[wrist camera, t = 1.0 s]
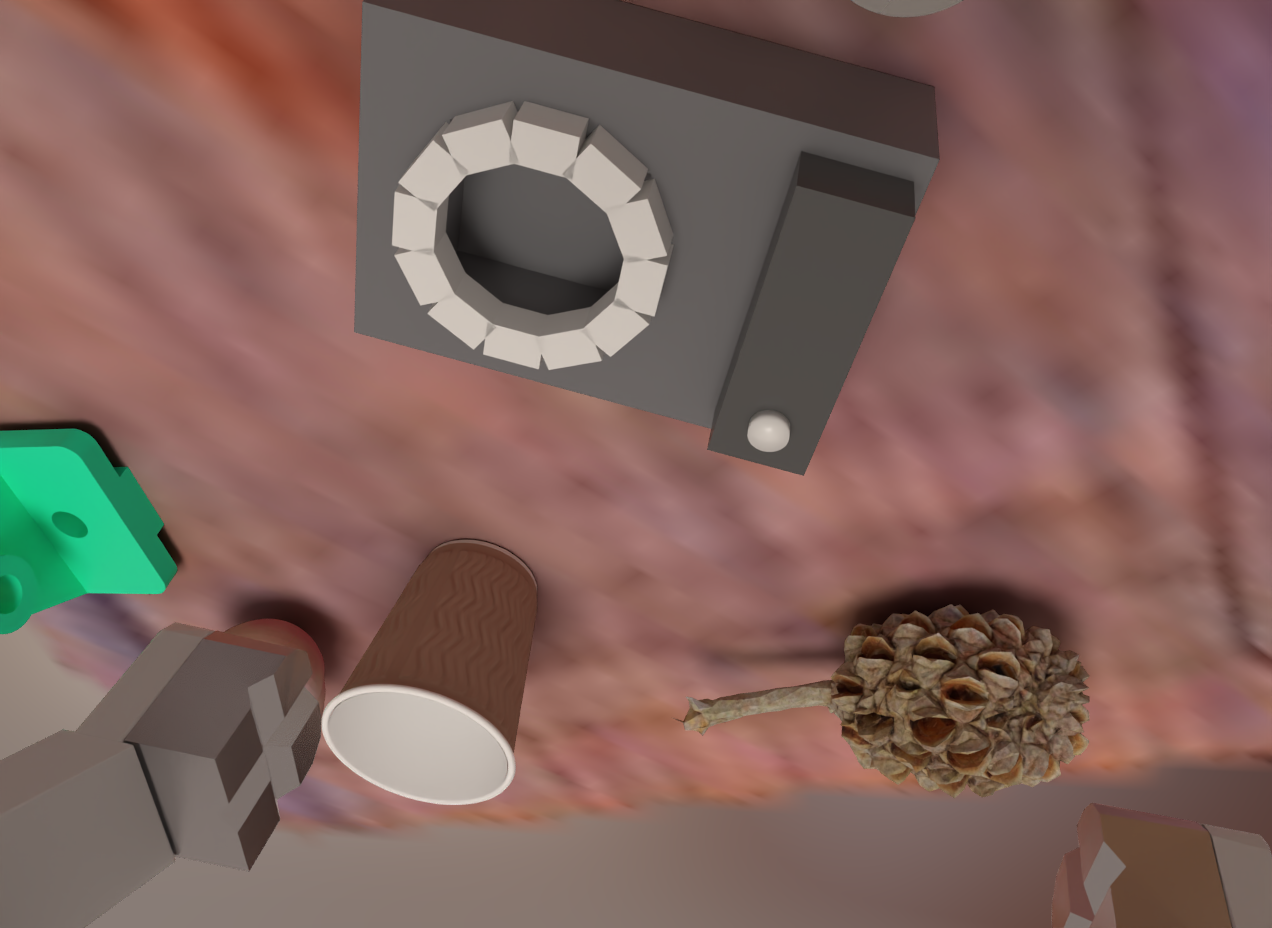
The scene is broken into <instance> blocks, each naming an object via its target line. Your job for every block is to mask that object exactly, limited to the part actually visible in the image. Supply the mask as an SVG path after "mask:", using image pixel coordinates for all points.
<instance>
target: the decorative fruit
mask: <svg viewBox="0 0 1272 928" xmlns="http://www.w3.org/2000/svg"><path fill="white" fill-rule="evenodd" d="M224 633H229V634H233V635H238V636H242V637H247V638H251V639H256V640H260V641H264V642H269V643H273V644H278V645H282V646H287V647H291V648H296V649H299V650H303V651H306V652H307V654H308V658H309V661H310V665H311V669H312V673H313V674H312V675H311V677H310V678H309V680H308V682H307V683H306V685H305V686H304V687H305V688H306V689H307V690H308V691H309V692H310V693H311V694H312V695H313V696H314V697H315V699H316V700H317V701H318V702H319V707H320V712H321V717H322V715H323V709H324V701H325V682H324V676H325V666H324V660H323V657H322V654H321V652H320V650H319V648H318V646H317V644H316V643H315V641H314V640H313V639H312V638H311V637H310V636H309V635H308V634H307V633H306V632H305V631H304V630H302V629H301V628H299V627H298V626H296V625H294V624H292V623H289V622H286V621H283V620H278V619H258V620H253V621H248V622H245V623H242V624H239V625H237V626H234V627H232V628H230V629H228V630H227V631H225V632H224Z"/></svg>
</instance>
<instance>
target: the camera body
mask: <svg viewBox="0 0 1272 928" xmlns="http://www.w3.org/2000/svg"><path fill="white" fill-rule="evenodd" d="M939 160H940V159H939V145H938V132H937V118H936V105H935V91H934V87H932V86H929V85H925V84H922V83H918V82H914V81H911V80H907V79H903V78H900V77H896V76H892V75H889V74H885V73H881V72H878V71H874V70H870V69H867V68H863V67H859V66H856V65H852V64H849V63H845V62H841V61H838V60H834V59H830V58H827V57H823V56H819V55H816V54H812V53H808V52H805V51H801V50H797V49H794V48H790V47H787V46H783V45H779V44H776V43H772V42H768V41H765V40H761V39H757V38H754V37H750V36H746V35H743V34H739V33H735V32H732V31H728V30H724V29H721V28H717V27H714V26H710V25H706V24H703V23H699V22H695V21H692V20H688V19H684V18H681V17H677V16H673V15H670V14H666V13H662V12H659V11H655V10H652V9H648V8H644V7H641V6H637V5H633V4H630V3H626V2H622V1H619V0H364V1H363V2H362V42H361V82H360V122H359V162H358V203H357V243H356V283H355V323H354V332H356V333H359V334H363V335H367V336H370V337H374V338H378V339H381V340H385V341H389V342H393V343H396V344H400V345H404V346H407V347H411V348H415V349H418V350H422V351H426V352H429V353H433V354H437V355H441V356H444V357H448V358H452V359H455V360H459V361H463V362H466V363H470V364H474V365H478V366H481V367H485V368H489V369H492V370H496V371H500V372H503V373H507V374H511V375H514V376H518V377H522V378H526V379H529V380H533V381H537V382H540V383H544V384H548V385H551V386H555V387H559V388H563V389H566V390H570V391H574V392H577V393H581V394H585V395H588V396H592V397H596V398H599V399H603V400H607V401H611V402H614V403H618V404H622V405H625V406H629V407H633V408H636V409H640V410H644V411H648V412H651V413H655V414H659V415H662V416H666V417H670V418H673V419H677V420H681V421H684V422H688V423H692V424H696V425H699V426H703V427H707V428H710V429H711V433H710V438H709V443H708V448H707V450H711V451H714V452H718V453H722V454H725V455H729V456H733V457H736V458H740V459H744V460H748V461H751V462H755V463H759V464H762V465H766V466H770V467H773V468H777V469H781V470H784V471H788V472H792V473H796V474H799V475H803V476H804V474H805V472H806V469H807V467H808V465H809V462H810V460H811V458H812V455H813V453H814V451H815V448H816V446H817V444H818V442H819V439H820V437H821V435H822V432H823V430H824V428H825V425H826V423H827V421H828V418H829V416H830V414H831V412H832V409H833V407H834V405H835V402H836V400H837V398H838V395H839V393H840V391H841V388H842V386H843V384H844V382H845V379H846V377H847V375H848V372H849V370H850V368H851V365H852V363H853V361H854V358H855V356H856V354H857V352H858V349H859V347H860V345H861V342H862V340H863V338H864V335H865V333H866V331H867V328H868V326H869V324H870V322H871V319H872V317H873V315H874V312H875V310H876V308H877V305H878V303H879V301H880V298H881V296H882V294H883V292H884V289H885V287H886V285H887V282H888V280H889V278H890V275H891V273H892V271H893V268H894V266H895V264H896V262H897V259H898V257H899V255H900V252H901V250H902V248H903V245H904V243H905V241H906V238H907V236H908V234H909V232H910V229H911V227H912V225H913V222H914V220H915V215H916V213H917V210H918V208H919V206H920V203H921V201H922V199H923V197H924V194H925V192H926V190H927V187H928V185H929V183H930V180H931V178H932V176H933V173H934V171H935V169H936V166H937V164H938V162H939Z"/></svg>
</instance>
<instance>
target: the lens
mask: <svg viewBox="0 0 1272 928" xmlns="http://www.w3.org/2000/svg"><path fill="white" fill-rule="evenodd" d="M851 1H853V2H854V3H855V4H857V5H859V6H861V7H863V8H865V9H867V10H869V11H872V12H875V13H878V14H882V15H887V16H892V17H918V16H923V15H929V14H933V13H936V12H939V11H942V10H945V9H947V8H949V7H952V6H954V5H956V4H958V3H960V2H961V1H963V0H851Z"/></svg>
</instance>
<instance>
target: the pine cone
mask: <svg viewBox="0 0 1272 928" xmlns="http://www.w3.org/2000/svg"><path fill="white" fill-rule="evenodd" d="M1060 643H1061V642H1060V641H1059V640H1058V639H1057V638H1056V637H1054V636H1053V635H1052V634H1050V629H1045V628H1040V627H1035V626H1032V627H1030V628H1029V629H1028V630H1026V631H1024V627H1023V622H1022V621H1021V620H1020V619H1019V618H1018V616H1014V615H1007V614H1002V615H1000V616H999V615H998V614H997V613H996V612H995V611H994V610H990V611H988V612H986V613H983V614H981V615H980V614H979V613H976V614H971V615H969V613H968V612H967V611H966V610H965V609H964V608H963V607H962V606H961V605H957V606H953V605H952V604H951V605H948V606H946V607H943V608H941V609H939V610H937V611H934V612H933V613H931V614H930V615H929V616H928V617H927V616H925V615H923V614H921V613H919V612H917V611H914V612H912V613H911V614H910V615H907V614H892V615H891V616H890V617H889V618H888V619H887V620H886V621H885V622H884V624H883V625H879V624H874V623H873V624H872V626H868V625H863V624H858V625H856V626H855V627H854V628H853V630H852V632H851V634H850V636H848V637H847V638H846V640H845V641H844V653H845V662H844V664H842V665H841V666H840V667H839V668H838V669H837V671H835V672H834V674H833V675H832V676H831V679H832V680H826V681H820V682H815V683H810V684H804V685H799V686H794V687H784V688H775V689H771V690H765V691H759V692H752V693H742V694H736V695H732V696H726V697H720V698H718V699H715V700H710V699H703V700H696V699H694V698H691V697H686V698H687V699H688V701H689V704H690V709H689V711H688V713H687V715H686V717H685V719H684V721H681V720H678V719H676V720H678V721H680V722H682V723H683V724H684V727H685V730H694V731H698V732H699V733H700V734H701V735H703V734H704V733H705V732H706V730H707V729H708V727H710V726H713V725H715V724H719V723H723V722H727V721H730V720H734V719H737V718H741V717H743V716H746V715H753V714H760V713H765V712H772V711H781V710H785V709H789V708H796V707H810V706H817V705H820V706H827V707H828V708H829V711H830V713H833V712H835V713H834V714H835V715H837V716H838V717H839V718H840V719H841V721H842V723H841V726H842V737H843V738H844V739H845V740H846V741H847V742H848V744H849V745H850V746H851V748H852V750H853V752H854V754H855V755H856V757H857V760H858V762H859V763H860V764H861V766H862V767H863V768H864V769H873V768H874V769H877V770H879V771H880V772H881V774H883V775H885V776H886V777H887V778H888V779H890V780H891V781H893V782H895V783H896V784H898V785H899V784H900V783H901V782H903V781H904V780H905V779H906V777H907V776H908V775H909V774H910V772H911V773H913V774H914V775H915V777H916V779H917V781H918V783H919V785H921V786H922V787H923V788H925V789H926V790H927V791H929V792H930V791H933V790H936V789H939V788H940V789H941V790H942V791H944V792H945V793H947V794H948V795H950V796H952V797H953V798H956V797H957V796H958V795H959V794H960V793H961V792H962V791H963V790H964V789H965V786H966V784H968V786H969V787H970V789H971V790H972V791H973V792H974V793H976V794H978V795H979V796H981V797H986V796H990V795H993V794H994V791H997V790H1000V789H1003V788H1005V787H1009V786H1012V785H1017V784H1021V783H1023V784H1026V785H1028V786H1031V787H1033V786H1035V785H1036V784H1038V783H1039V782H1040V781H1043V782H1049V781H1051V780H1053V779H1055V778H1057V777H1058V776H1060V775H1061V773H1060V761H1062V762H1064V763H1066V764H1069V763H1070V761H1071V760H1072V759H1073V758H1074V757H1075V755H1081V753H1082V752H1083V751H1084V750H1085V749H1086V748H1087V745H1088V743H1089V740H1088V739H1087V738H1085V737H1084V736H1083V735H1082V734H1081V733H1082V732H1084V731H1083V728H1082V724H1083V723H1085V722H1087V721H1089V711H1088V710H1087V709H1086V708H1084V707H1083V706H1082V704H1085V703H1089V696H1086V695H1083V693H1082V691H1084V690H1086V689H1088V688H1089V687H1087V686H1086V685H1085V684H1084V683H1083V682H1084V681H1085V680H1086V679H1087V678H1088V677H1089V675H1088V673H1087V672H1086V670H1085V669H1084V668H1083V666H1080V665H1081V662H1079V661H1077V660H1078V657H1079V654H1077V653H1075V652H1072V651H1065V652H1064V651H1059V650H1058V647H1059V645H1060ZM671 718H672V717H671ZM673 719H675V718H673Z"/></svg>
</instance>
